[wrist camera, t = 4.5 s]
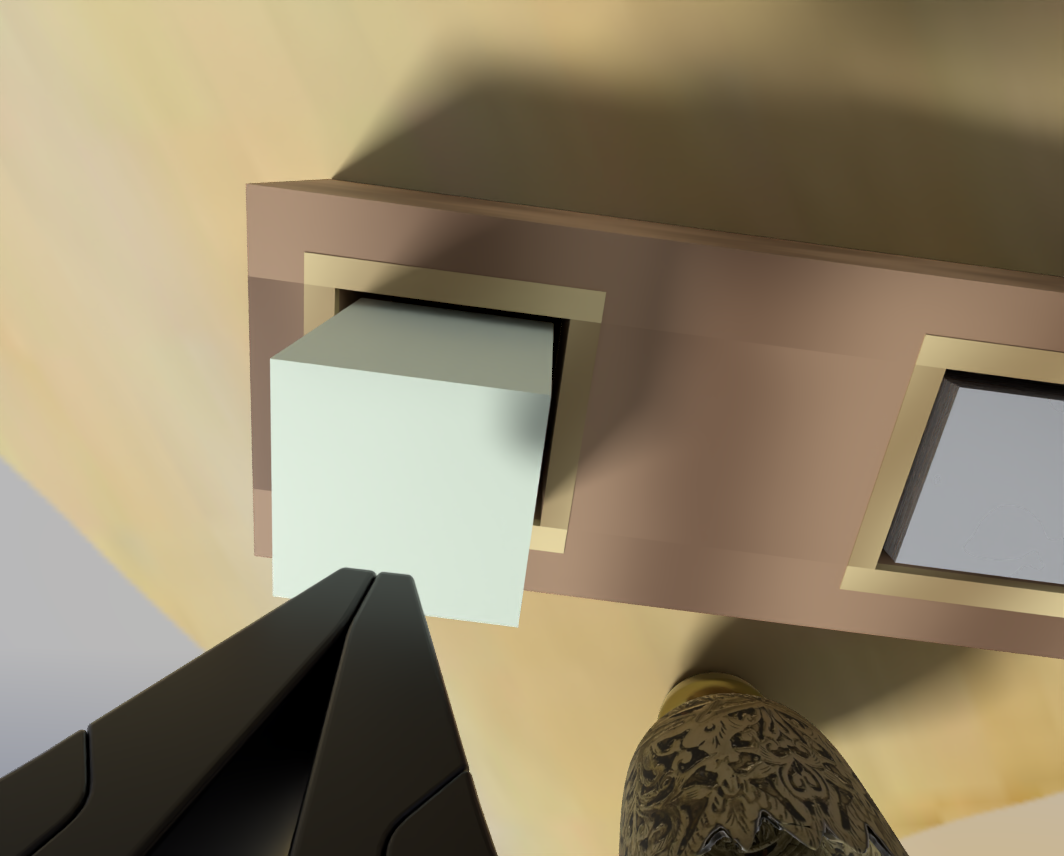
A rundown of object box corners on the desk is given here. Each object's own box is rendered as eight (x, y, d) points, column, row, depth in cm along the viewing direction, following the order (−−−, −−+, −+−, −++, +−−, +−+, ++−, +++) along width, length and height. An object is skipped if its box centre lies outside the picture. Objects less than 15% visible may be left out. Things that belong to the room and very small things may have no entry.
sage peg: (553, 323, 14) (551, 395, 10) (529, 495, 16) (517, 627, 11) (361, 297, 14) (270, 358, 10) (354, 472, 16) (273, 596, 11)
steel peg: (1010, 352, 18) (1160, 413, 13) (957, 488, 19) (1076, 585, 15) (859, 331, 18) (959, 386, 13) (817, 470, 19) (894, 562, 15)
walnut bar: (1107, 283, 18) (1308, 325, 13) (994, 552, 20) (1123, 667, 16) (329, 178, 17) (245, 183, 13) (325, 466, 20) (254, 556, 16)
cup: (635, 589, 21) (677, 817, 14) (860, 641, 22) (1017, 890, 14) (573, 764, 24) (580, 1035, 17) (774, 808, 24) (869, 1092, 17)
